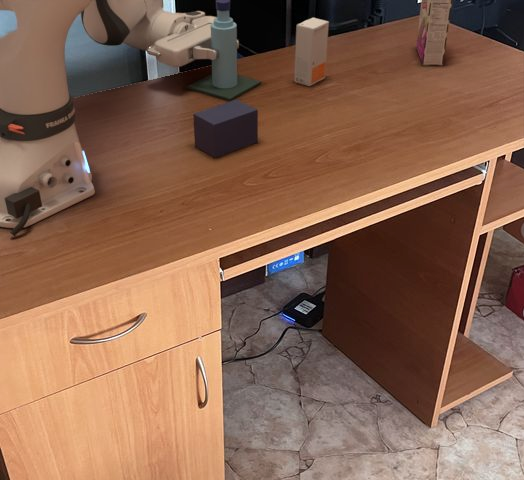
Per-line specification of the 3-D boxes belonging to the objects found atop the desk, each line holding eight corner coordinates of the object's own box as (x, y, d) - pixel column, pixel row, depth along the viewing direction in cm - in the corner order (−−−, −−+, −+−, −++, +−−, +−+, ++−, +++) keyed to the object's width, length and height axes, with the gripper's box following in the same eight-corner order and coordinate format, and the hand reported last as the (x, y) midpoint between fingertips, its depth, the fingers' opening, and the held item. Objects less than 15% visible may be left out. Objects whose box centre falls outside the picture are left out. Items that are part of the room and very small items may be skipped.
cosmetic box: (310, 87, 165) (312, 28, 157) (293, 82, 167) (295, 24, 159) (326, 78, 168) (329, 20, 161) (309, 73, 170) (312, 16, 163)
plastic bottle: (217, 99, 164) (177, 39, 162) (232, 91, 168) (193, 32, 165) (257, 61, 153) (214, -4, 151) (272, 53, 156) (230, -10, 154)
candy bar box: (414, 48, 183) (423, -28, 172) (435, 48, 183) (446, -28, 172) (420, 66, 174) (431, -13, 164) (443, 66, 174) (455, -12, 164)
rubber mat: (230, 101, 159) (230, 98, 159) (187, 88, 164) (187, 86, 163) (260, 84, 166) (261, 81, 166) (219, 72, 171) (219, 69, 170)
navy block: (194, 146, 143) (193, 113, 139) (237, 131, 148) (236, 99, 144) (214, 158, 140) (213, 124, 136) (257, 142, 145) (257, 109, 141)
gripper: (140, 34, 157) (193, 49, 151) (204, 8, 170) (256, 20, 164) (143, 66, 161) (195, 81, 155) (205, 38, 174) (256, 51, 168)
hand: (227, 50), depth 159 cm, fingers closed on plastic bottle, 5 cm apart
